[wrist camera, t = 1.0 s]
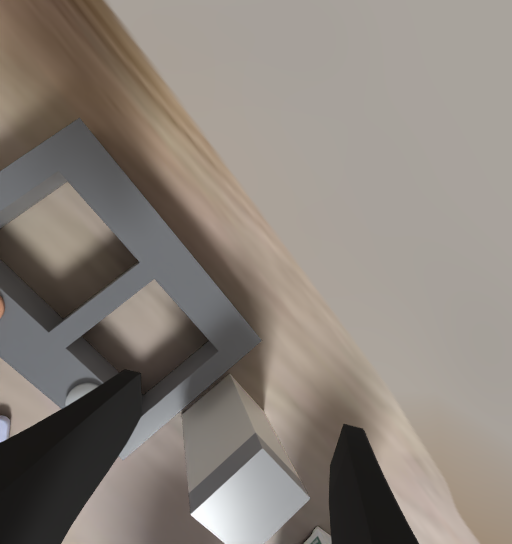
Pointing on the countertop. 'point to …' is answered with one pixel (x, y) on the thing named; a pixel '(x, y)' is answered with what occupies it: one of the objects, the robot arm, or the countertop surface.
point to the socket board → (109, 287)
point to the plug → (238, 467)
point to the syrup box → (319, 537)
